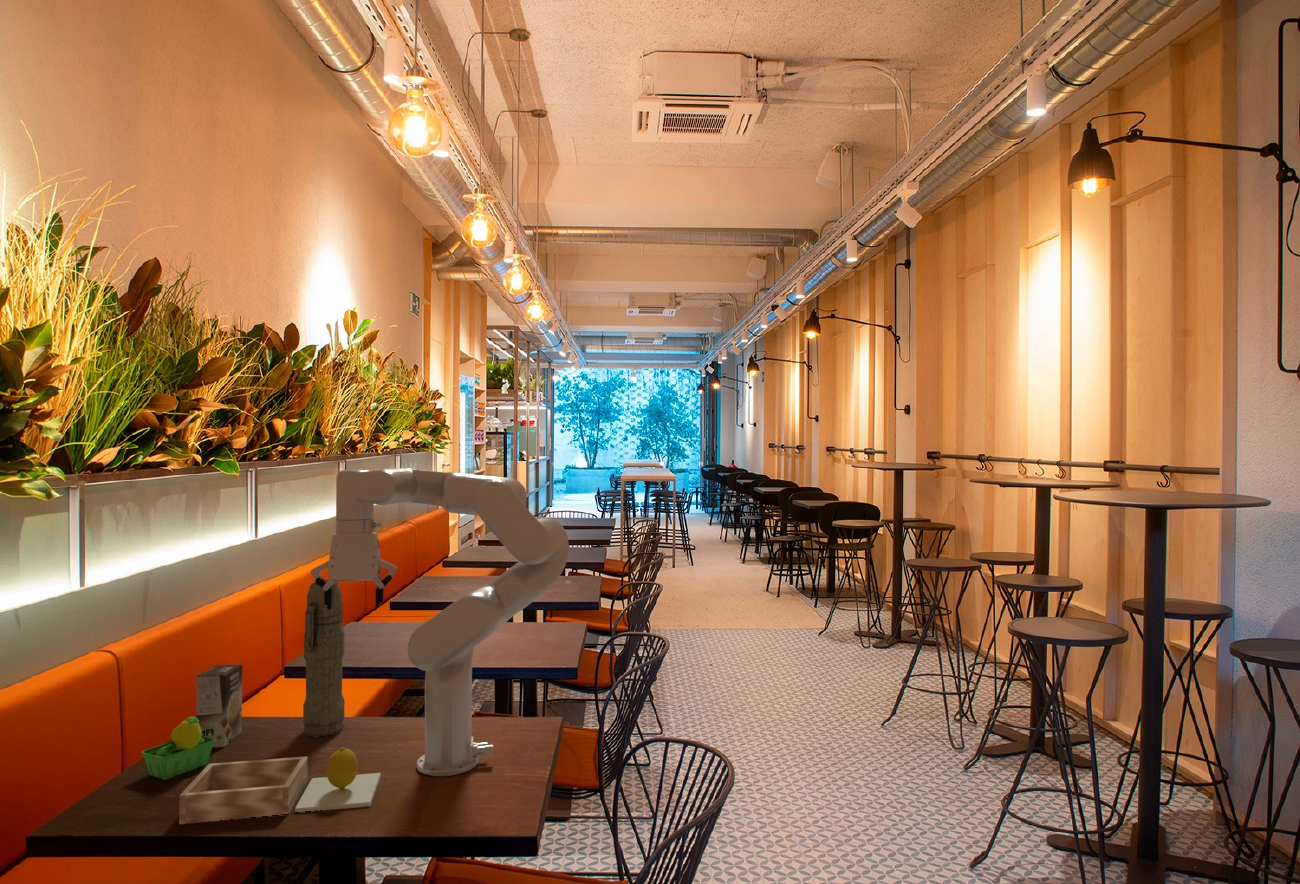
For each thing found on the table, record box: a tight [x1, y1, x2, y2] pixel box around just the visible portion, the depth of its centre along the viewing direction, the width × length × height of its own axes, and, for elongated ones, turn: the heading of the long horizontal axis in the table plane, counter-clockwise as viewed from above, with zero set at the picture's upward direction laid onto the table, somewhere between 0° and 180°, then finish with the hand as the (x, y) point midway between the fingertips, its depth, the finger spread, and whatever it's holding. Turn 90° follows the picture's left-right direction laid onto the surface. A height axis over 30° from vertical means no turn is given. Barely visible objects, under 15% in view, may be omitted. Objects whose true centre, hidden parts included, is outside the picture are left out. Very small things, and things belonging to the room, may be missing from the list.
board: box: [294, 772, 382, 813], centre depth 146 cm, size 13×13×1 cm
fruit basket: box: [141, 716, 215, 781], centre depth 157 cm, size 11×9×11 cm
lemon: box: [326, 747, 359, 790], centre depth 147 cm, size 6×6×8 cm
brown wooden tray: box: [178, 756, 309, 825], centre depth 143 cm, size 18×14×5 cm
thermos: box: [302, 579, 346, 738], centre depth 180 cm, size 9×12×35 cm
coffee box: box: [195, 664, 243, 748], centre depth 174 cm, size 9×6×16 cm
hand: (354, 607), depth 163 cm, fingers open, 9 cm apart
